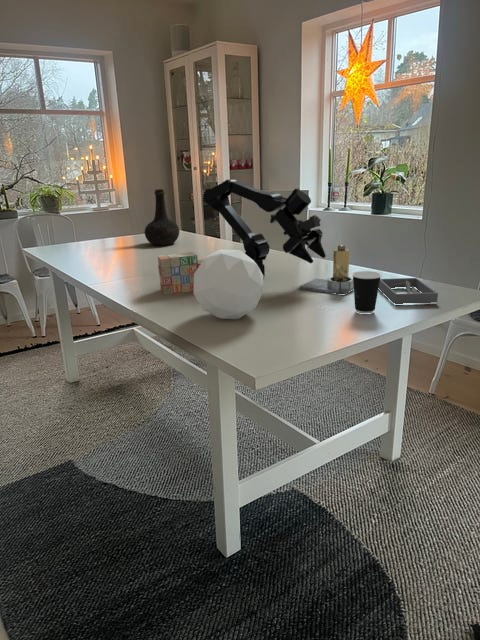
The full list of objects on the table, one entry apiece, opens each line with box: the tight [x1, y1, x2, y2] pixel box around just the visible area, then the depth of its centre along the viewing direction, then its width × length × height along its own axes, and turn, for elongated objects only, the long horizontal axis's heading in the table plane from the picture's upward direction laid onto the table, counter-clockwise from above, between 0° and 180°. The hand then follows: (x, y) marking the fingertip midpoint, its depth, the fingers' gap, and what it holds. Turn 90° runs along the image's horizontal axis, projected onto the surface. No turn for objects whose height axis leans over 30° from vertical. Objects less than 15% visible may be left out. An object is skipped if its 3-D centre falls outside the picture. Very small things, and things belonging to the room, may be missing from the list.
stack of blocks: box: [157, 251, 205, 295], centre depth 165 cm, size 21×6×12 cm, turn 109°
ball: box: [193, 249, 264, 320], centre depth 133 cm, size 19×20×20 cm
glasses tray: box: [379, 277, 439, 304], centre depth 148 cm, size 12×18×4 cm
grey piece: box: [299, 276, 354, 295], centre depth 161 cm, size 16×12×4 cm
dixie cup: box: [351, 270, 383, 313], centre depth 134 cm, size 8×8×11 cm
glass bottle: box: [144, 188, 180, 246], centre depth 249 cm, size 18×18×28 cm
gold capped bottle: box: [332, 244, 350, 282], centre depth 157 cm, size 5×5×14 cm
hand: (318, 259), depth 161 cm, fingers open, 9 cm apart
